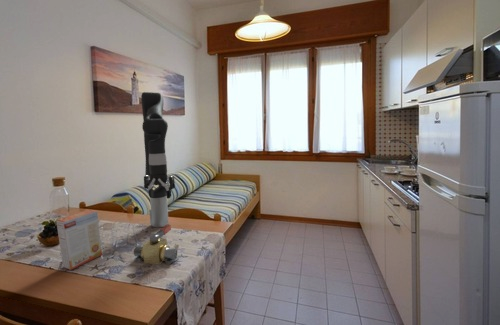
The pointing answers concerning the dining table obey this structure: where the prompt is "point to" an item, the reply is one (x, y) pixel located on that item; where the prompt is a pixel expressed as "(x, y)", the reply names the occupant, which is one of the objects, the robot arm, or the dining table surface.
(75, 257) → the cracker box
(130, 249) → the dining table surface
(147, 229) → the dining table surface
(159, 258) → the valve pipe
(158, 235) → the lever
